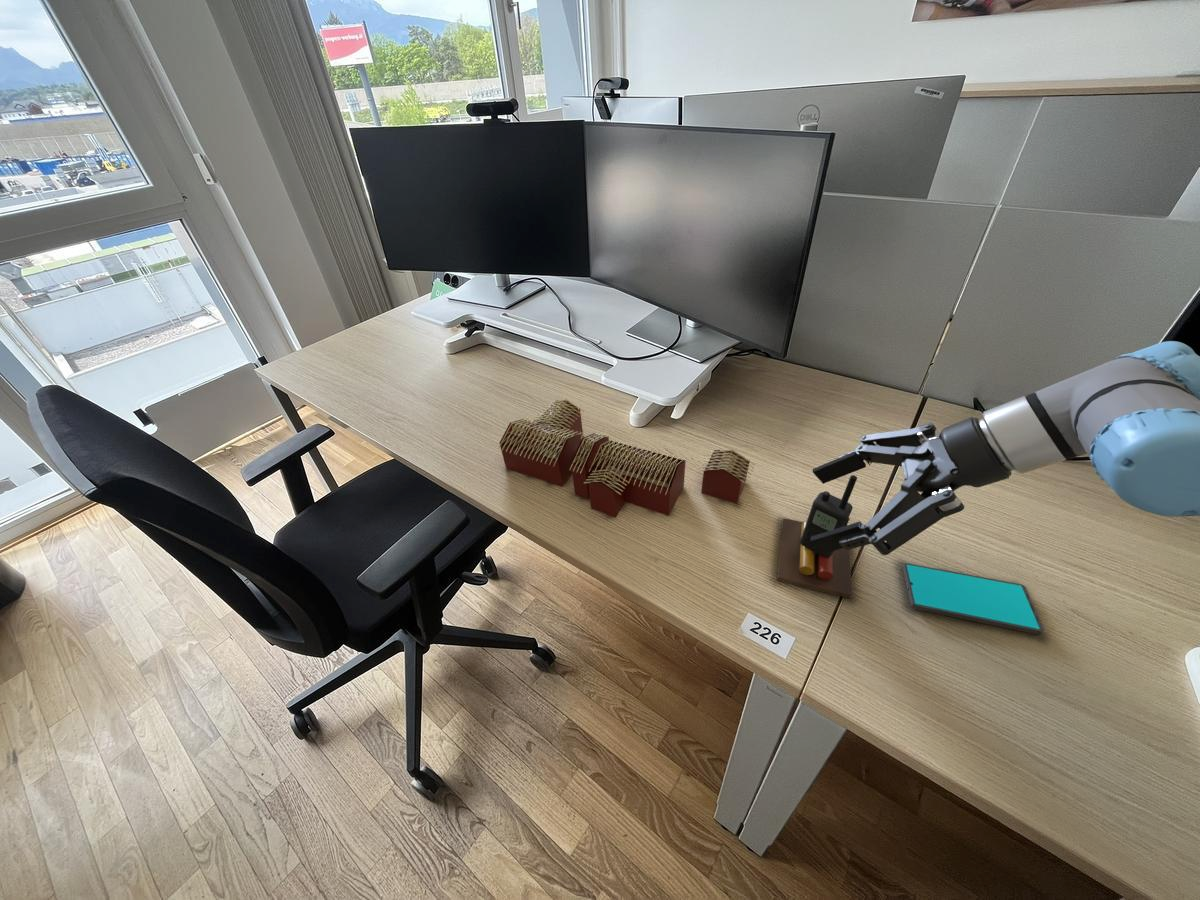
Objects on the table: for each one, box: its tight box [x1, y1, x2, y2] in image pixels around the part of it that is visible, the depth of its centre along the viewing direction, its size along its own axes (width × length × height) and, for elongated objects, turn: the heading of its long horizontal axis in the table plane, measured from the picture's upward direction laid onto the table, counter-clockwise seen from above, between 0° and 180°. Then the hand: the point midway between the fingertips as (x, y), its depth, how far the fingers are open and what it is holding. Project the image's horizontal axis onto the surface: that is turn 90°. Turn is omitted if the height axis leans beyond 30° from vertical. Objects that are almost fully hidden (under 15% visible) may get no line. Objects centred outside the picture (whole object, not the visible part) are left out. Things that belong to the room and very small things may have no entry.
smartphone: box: [902, 562, 1045, 635], centre depth 64 cm, size 7×1×15 cm
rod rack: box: [776, 517, 853, 600], centre depth 71 cm, size 10×12×3 cm
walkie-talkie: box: [800, 474, 858, 558], centre depth 65 cm, size 5×3×15 cm
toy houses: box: [497, 398, 756, 518], centre depth 85 cm, size 45×20×10 cm, turn 63°
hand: (817, 508), depth 65 cm, fingers open, 13 cm apart
